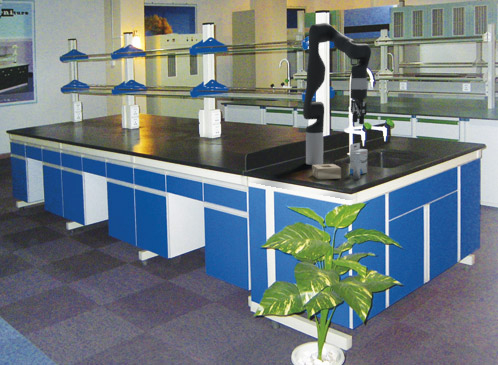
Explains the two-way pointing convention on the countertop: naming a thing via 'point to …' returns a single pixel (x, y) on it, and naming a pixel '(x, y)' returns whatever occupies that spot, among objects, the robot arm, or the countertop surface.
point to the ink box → (363, 158)
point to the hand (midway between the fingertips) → (358, 123)
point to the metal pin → (356, 166)
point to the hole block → (326, 171)
